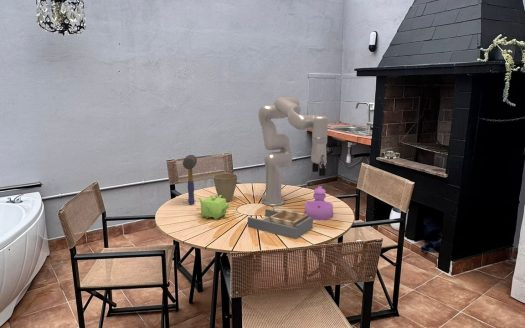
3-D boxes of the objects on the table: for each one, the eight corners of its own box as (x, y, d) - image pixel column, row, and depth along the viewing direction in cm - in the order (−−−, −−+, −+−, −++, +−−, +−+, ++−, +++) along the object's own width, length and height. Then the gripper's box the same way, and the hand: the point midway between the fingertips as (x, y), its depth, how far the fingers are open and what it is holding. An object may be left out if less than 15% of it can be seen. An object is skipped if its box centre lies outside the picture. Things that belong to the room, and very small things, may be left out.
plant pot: (209, 200, 237) (208, 175, 234) (228, 195, 247) (227, 172, 244) (223, 205, 227) (222, 179, 223) (242, 200, 236) (242, 176, 233)
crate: (269, 228, 186) (269, 217, 185) (283, 220, 197) (283, 209, 196) (293, 234, 178) (294, 222, 177) (307, 225, 189) (307, 214, 188)
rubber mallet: (186, 201, 235) (184, 153, 229) (198, 201, 235) (197, 153, 229) (183, 207, 223) (181, 157, 217) (196, 207, 223) (194, 157, 217)
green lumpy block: (197, 214, 210) (196, 195, 208) (221, 211, 216) (220, 192, 214) (205, 222, 197) (205, 202, 195) (230, 218, 203) (230, 198, 201)
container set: (332, 221, 201) (333, 197, 198) (303, 219, 203) (304, 195, 201) (332, 206, 225) (333, 185, 222) (306, 205, 227) (307, 184, 225)
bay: (247, 226, 191) (247, 215, 190) (266, 217, 205) (266, 207, 204) (295, 238, 176) (296, 226, 175) (312, 228, 190) (312, 216, 189)
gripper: (306, 138, 198) (306, 170, 201) (318, 143, 181) (317, 177, 185) (320, 138, 200) (319, 170, 203) (333, 142, 183) (332, 177, 186)
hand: (318, 173), depth 194 cm, fingers open, 9 cm apart
